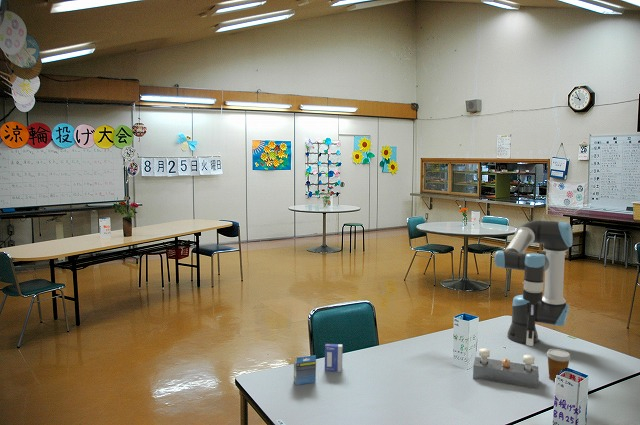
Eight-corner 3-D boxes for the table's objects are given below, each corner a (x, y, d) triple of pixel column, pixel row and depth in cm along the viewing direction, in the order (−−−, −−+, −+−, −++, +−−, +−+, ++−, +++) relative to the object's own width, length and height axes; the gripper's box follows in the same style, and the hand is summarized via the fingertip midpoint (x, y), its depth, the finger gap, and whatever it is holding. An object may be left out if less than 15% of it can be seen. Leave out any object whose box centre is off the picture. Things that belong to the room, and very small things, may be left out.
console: (474, 369, 225) (475, 356, 224) (537, 379, 215) (538, 366, 214) (472, 378, 215) (473, 365, 215) (537, 389, 206) (538, 375, 205)
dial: (502, 363, 217) (502, 357, 216) (509, 365, 215) (510, 359, 215) (501, 366, 214) (501, 360, 213) (509, 368, 212) (509, 362, 212)
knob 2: (522, 370, 214) (523, 354, 213) (533, 372, 212) (534, 355, 212) (522, 375, 210) (523, 357, 209) (533, 376, 208) (534, 359, 208)
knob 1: (479, 363, 221) (479, 347, 220) (489, 365, 219) (490, 349, 218) (478, 367, 217) (478, 351, 216) (488, 369, 215) (489, 352, 214)
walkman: (324, 370, 222) (324, 345, 220) (325, 368, 224) (325, 342, 223) (342, 371, 221) (342, 346, 220) (342, 369, 224) (342, 343, 222)
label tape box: (313, 378, 214) (313, 351, 213) (316, 382, 210) (316, 355, 209) (293, 381, 211) (293, 354, 210) (296, 385, 207) (296, 357, 206)
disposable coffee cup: (544, 381, 214) (546, 354, 212) (545, 372, 222) (547, 346, 221) (568, 385, 209) (570, 358, 208) (569, 377, 218) (571, 350, 216)
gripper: (523, 286, 214) (520, 338, 217) (523, 293, 202) (520, 348, 205) (542, 287, 212) (538, 341, 214) (543, 295, 200) (539, 351, 202)
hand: (529, 344), depth 210 cm, fingers closed
